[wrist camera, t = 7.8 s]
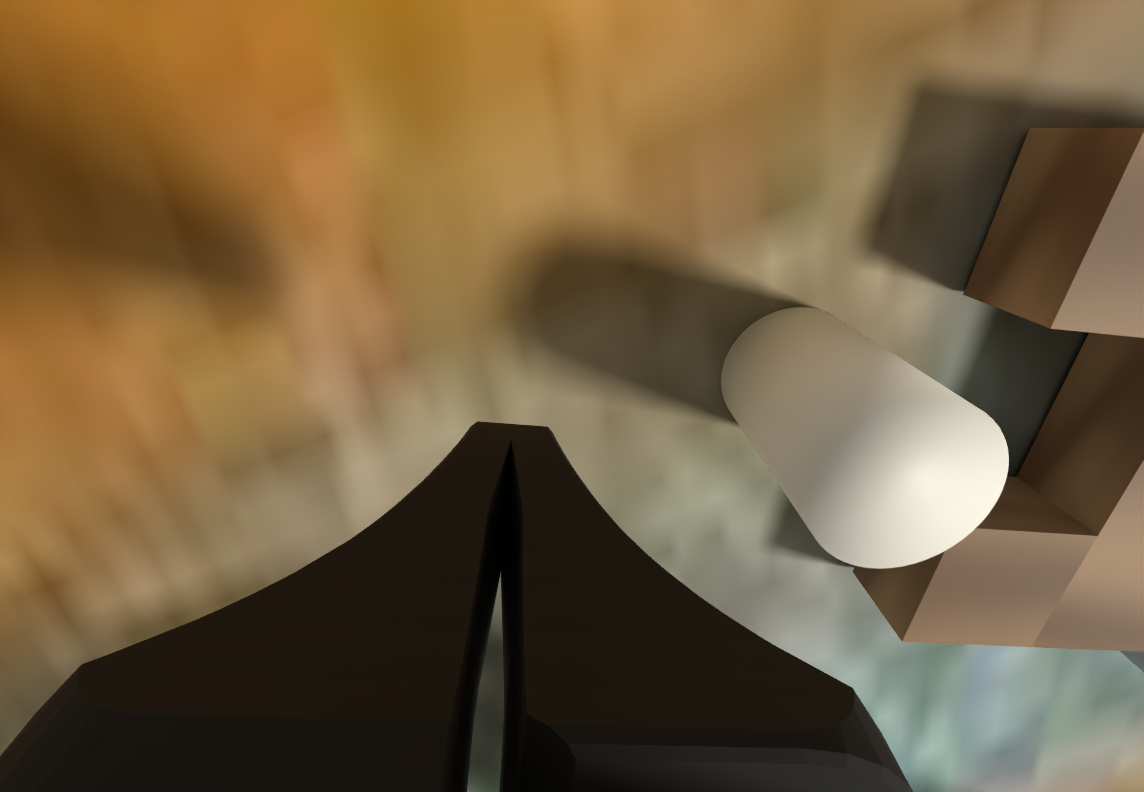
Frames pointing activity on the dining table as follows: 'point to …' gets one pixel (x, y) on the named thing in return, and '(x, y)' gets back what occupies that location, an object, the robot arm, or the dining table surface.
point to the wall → (1135, 658)
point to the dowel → (862, 439)
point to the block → (1056, 419)
